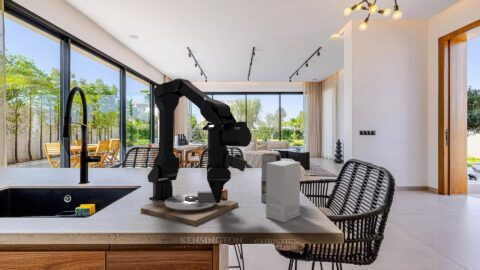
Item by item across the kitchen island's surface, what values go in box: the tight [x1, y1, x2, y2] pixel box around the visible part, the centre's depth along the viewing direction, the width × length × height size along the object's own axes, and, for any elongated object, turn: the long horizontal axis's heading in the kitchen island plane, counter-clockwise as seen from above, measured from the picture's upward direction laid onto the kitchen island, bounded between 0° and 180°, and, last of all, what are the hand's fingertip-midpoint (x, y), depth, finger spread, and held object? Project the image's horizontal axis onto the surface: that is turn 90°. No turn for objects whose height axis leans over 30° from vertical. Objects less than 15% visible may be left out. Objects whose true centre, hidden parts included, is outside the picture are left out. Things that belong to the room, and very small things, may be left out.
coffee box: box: [260, 152, 282, 203], centre depth 96 cm, size 9×6×16 cm
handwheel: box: [165, 188, 229, 212], centre depth 84 cm, size 19×16×4 cm
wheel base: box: [140, 200, 239, 226], centre depth 83 cm, size 21×21×1 cm
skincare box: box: [265, 159, 301, 223], centre depth 76 cm, size 8×7×16 cm
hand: (217, 199), depth 78 cm, fingers open, 7 cm apart
